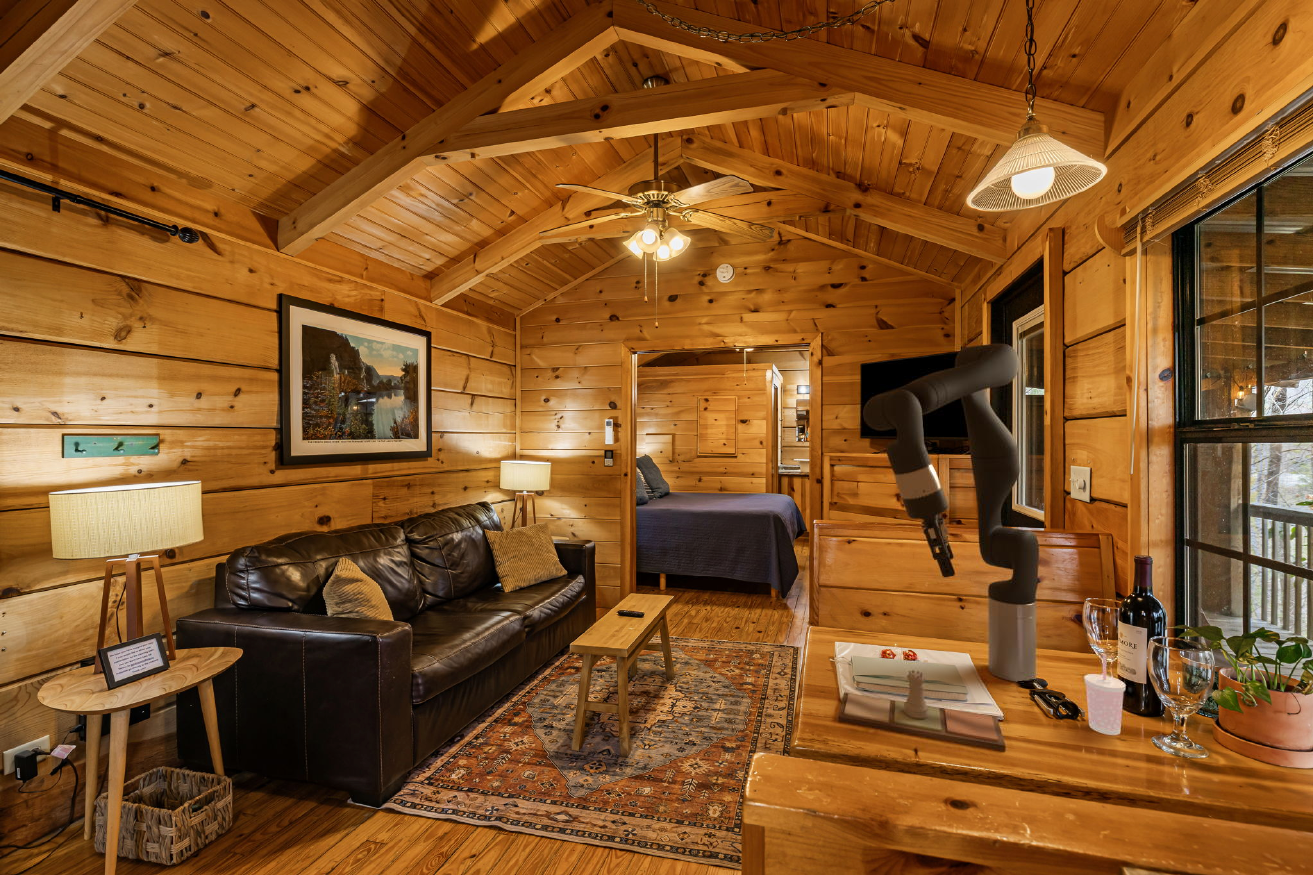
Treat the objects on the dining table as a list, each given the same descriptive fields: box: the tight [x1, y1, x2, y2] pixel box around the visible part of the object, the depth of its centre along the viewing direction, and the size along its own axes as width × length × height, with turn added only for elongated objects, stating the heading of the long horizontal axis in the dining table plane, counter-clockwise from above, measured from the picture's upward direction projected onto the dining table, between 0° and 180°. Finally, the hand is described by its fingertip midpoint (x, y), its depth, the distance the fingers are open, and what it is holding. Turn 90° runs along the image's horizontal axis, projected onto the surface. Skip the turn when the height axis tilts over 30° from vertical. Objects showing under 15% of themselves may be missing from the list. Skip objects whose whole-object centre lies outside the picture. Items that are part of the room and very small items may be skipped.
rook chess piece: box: [904, 669, 929, 719], centre depth 112 cm, size 4×4×8 cm
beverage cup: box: [1083, 653, 1127, 736], centre depth 109 cm, size 6×6×14 cm
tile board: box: [837, 691, 1006, 752], centre depth 112 cm, size 11×28×1 cm, turn 67°
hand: (948, 567), depth 114 cm, fingers open, 8 cm apart
